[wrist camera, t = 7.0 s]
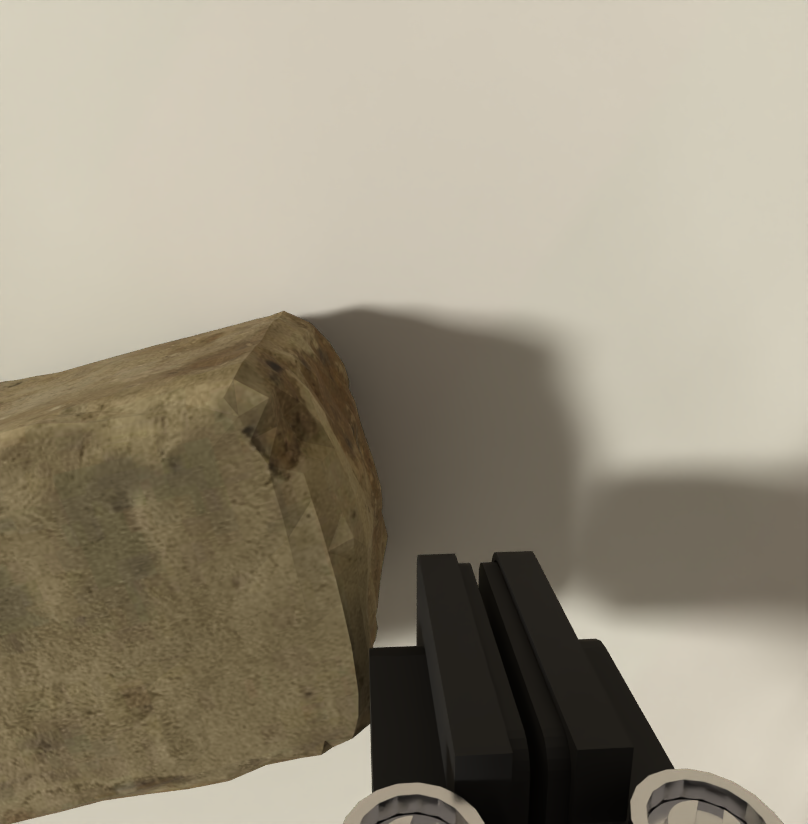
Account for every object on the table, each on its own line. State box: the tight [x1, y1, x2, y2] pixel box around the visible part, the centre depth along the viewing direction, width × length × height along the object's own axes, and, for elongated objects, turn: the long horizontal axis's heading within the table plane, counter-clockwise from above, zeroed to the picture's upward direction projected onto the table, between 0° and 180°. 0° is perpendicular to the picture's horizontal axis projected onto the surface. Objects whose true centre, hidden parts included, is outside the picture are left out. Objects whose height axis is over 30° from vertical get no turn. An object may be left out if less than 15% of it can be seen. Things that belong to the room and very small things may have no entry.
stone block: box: [0, 311, 388, 824], centre depth 11 cm, size 6×12×5 cm, turn 104°
